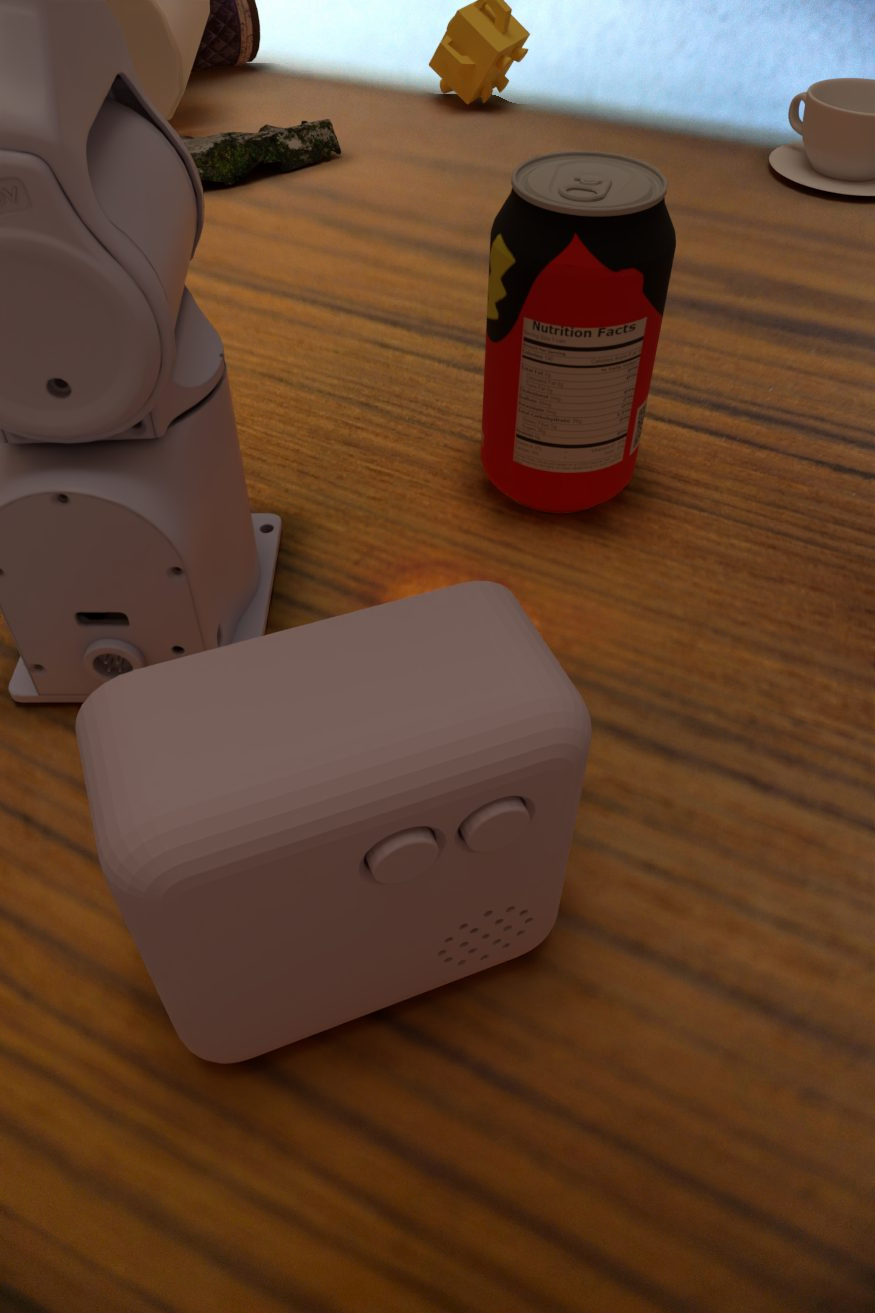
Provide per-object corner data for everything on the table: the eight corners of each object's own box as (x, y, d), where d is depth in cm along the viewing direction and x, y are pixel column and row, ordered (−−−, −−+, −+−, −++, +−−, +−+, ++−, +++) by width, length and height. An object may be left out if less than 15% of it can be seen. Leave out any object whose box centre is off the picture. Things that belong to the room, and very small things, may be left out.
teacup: (951, 177, 64) (981, 98, 60) (871, 216, 59) (898, 134, 56) (820, 136, 69) (841, 62, 66) (736, 170, 64) (754, 91, 61)
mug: (133, 74, 72) (276, 58, 77) (101, -39, 69) (253, -49, 74) (96, 102, 80) (229, 85, 85) (66, 2, 77) (206, -9, 82)
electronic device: (197, 1105, 23) (90, 889, 16) (160, 937, 26) (57, 690, 19) (572, 959, 26) (628, 717, 18) (499, 821, 29) (523, 566, 21)
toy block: (499, 109, 78) (449, 58, 77) (555, 19, 71) (501, -37, 71) (451, 140, 73) (397, 86, 72) (507, 47, 67) (448, -13, 66)
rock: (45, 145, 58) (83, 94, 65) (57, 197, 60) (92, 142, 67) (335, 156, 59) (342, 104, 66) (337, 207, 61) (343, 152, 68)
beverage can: (644, 453, 42) (701, 157, 33) (612, 541, 38) (667, 230, 29) (505, 424, 43) (524, 134, 34) (459, 506, 39) (467, 200, 30)
